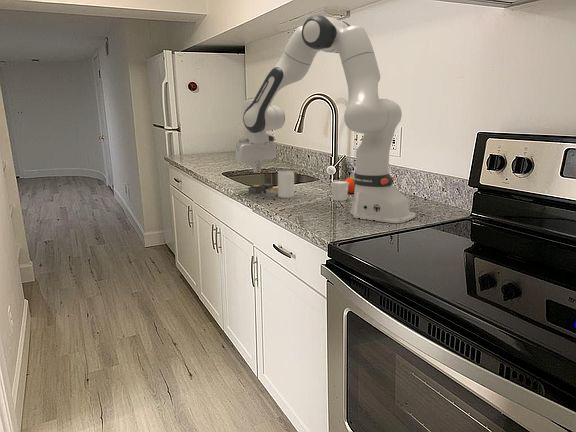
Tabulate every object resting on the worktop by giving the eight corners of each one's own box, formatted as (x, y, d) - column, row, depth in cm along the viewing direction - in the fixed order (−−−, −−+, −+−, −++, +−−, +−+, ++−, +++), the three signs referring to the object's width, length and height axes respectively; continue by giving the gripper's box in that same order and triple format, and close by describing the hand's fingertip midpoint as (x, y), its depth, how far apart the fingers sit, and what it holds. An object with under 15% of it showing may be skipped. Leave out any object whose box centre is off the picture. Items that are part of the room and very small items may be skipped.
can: (292, 200, 181) (292, 170, 178) (276, 200, 182) (276, 170, 179) (295, 197, 187) (295, 168, 184) (279, 196, 189) (279, 168, 185)
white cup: (349, 198, 185) (349, 181, 183) (347, 201, 179) (347, 184, 177) (332, 197, 187) (333, 180, 185) (329, 200, 181) (329, 183, 179)
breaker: (262, 190, 193) (262, 185, 192) (256, 191, 191) (256, 186, 190) (256, 189, 195) (256, 184, 195) (250, 190, 193) (250, 185, 192)
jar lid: (290, 192, 192) (290, 189, 192) (276, 195, 186) (276, 192, 185) (275, 189, 198) (275, 186, 197) (261, 192, 191) (261, 189, 191)
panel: (290, 194, 192) (290, 186, 191) (271, 199, 184) (270, 191, 183) (267, 190, 201) (267, 183, 201) (247, 195, 193) (247, 187, 192)
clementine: (363, 194, 191) (364, 177, 190) (348, 195, 189) (349, 178, 188) (355, 191, 199) (355, 175, 197) (340, 192, 197) (341, 176, 195)
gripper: (241, 140, 178) (243, 175, 181) (277, 136, 192) (278, 169, 196) (231, 140, 182) (233, 174, 185) (267, 136, 197) (268, 168, 200)
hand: (256, 171), depth 191 cm, fingers closed
